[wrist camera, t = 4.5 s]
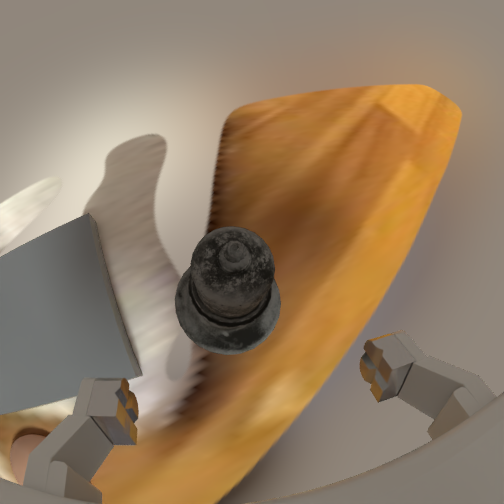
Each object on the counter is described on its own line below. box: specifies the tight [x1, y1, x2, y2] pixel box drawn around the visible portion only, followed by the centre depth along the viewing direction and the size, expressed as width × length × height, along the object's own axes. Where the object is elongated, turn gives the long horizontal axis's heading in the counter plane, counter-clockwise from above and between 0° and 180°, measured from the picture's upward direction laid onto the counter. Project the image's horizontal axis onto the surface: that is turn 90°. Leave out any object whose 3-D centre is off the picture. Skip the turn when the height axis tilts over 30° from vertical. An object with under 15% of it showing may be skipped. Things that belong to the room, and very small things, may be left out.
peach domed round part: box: [10, 434, 91, 486], centre depth 13 cm, size 8×8×1 cm
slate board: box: [0, 213, 142, 415], centre depth 16 cm, size 18×12×2 cm, turn 114°
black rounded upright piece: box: [175, 226, 281, 355], centre depth 14 cm, size 6×6×12 cm
